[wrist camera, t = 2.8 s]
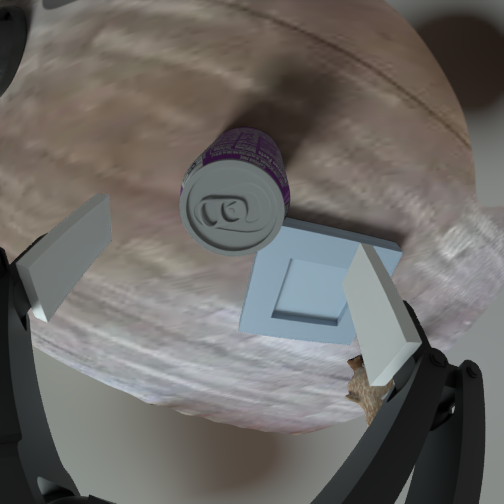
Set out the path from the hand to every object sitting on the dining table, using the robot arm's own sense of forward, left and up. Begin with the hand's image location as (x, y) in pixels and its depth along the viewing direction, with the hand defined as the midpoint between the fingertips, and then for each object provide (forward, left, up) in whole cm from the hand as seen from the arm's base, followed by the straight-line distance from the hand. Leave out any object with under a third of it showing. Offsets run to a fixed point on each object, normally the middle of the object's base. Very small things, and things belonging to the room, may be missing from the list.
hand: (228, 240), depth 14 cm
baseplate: (+13, +11, -15) cm, 22 cm away
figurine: (+28, +26, -15) cm, 41 cm away
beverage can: (0, 0, -15) cm, 15 cm away
